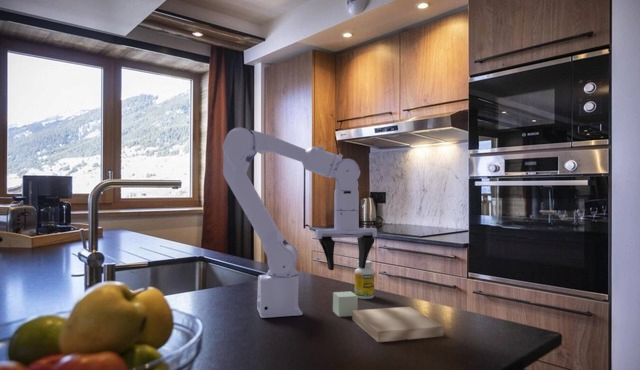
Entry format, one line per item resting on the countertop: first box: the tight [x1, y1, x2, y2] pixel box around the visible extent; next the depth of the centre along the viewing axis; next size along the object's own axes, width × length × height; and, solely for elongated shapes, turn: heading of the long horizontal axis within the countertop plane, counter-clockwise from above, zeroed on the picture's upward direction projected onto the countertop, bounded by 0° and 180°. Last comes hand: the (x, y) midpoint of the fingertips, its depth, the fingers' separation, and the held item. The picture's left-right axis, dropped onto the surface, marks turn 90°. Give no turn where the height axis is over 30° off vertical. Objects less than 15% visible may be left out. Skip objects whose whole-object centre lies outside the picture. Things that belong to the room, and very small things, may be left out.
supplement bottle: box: [354, 259, 375, 300], centre depth 111 cm, size 5×5×10 cm
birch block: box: [351, 306, 445, 343], centre depth 87 cm, size 14×14×2 cm
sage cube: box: [332, 291, 359, 318], centre depth 96 cm, size 4×4×4 cm
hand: (346, 268), depth 96 cm, fingers open, 7 cm apart
